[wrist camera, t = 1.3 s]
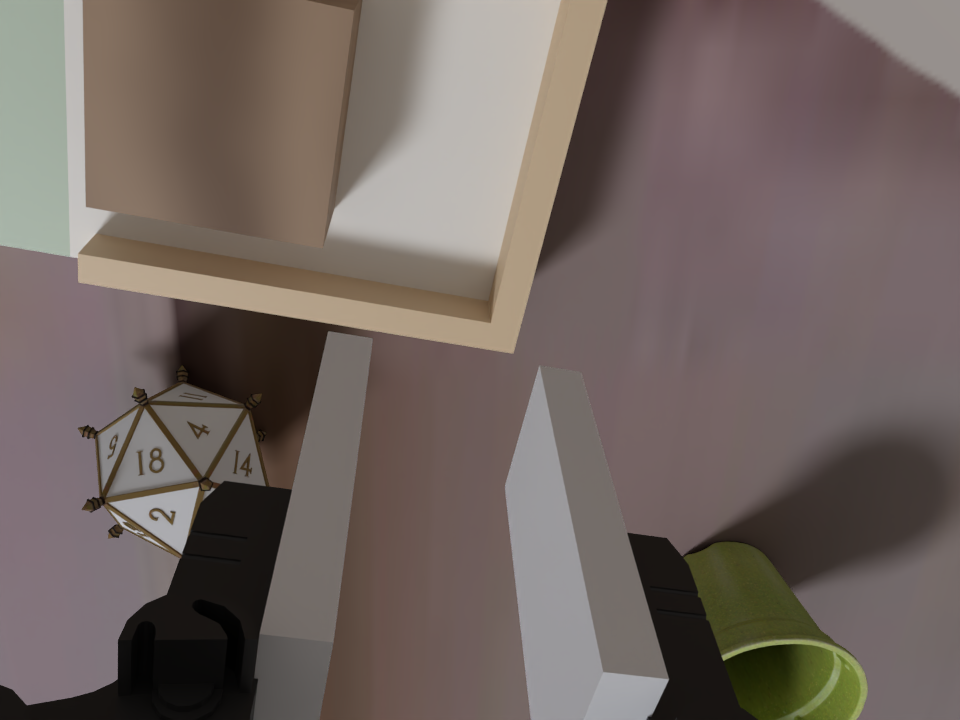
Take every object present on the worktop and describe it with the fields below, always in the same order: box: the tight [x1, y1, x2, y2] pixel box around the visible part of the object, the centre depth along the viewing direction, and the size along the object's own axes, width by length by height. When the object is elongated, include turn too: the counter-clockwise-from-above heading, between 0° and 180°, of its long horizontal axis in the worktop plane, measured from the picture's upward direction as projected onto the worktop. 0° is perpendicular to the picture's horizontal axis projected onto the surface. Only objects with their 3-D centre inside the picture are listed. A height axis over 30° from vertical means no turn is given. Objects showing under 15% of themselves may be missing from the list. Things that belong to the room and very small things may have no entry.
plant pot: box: [684, 542, 868, 720], centre depth 45 cm, size 9×9×9 cm
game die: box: [78, 365, 269, 559], centre depth 38 cm, size 9×8×10 cm
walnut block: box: [83, 0, 362, 249], centre depth 29 cm, size 8×8×4 cm
